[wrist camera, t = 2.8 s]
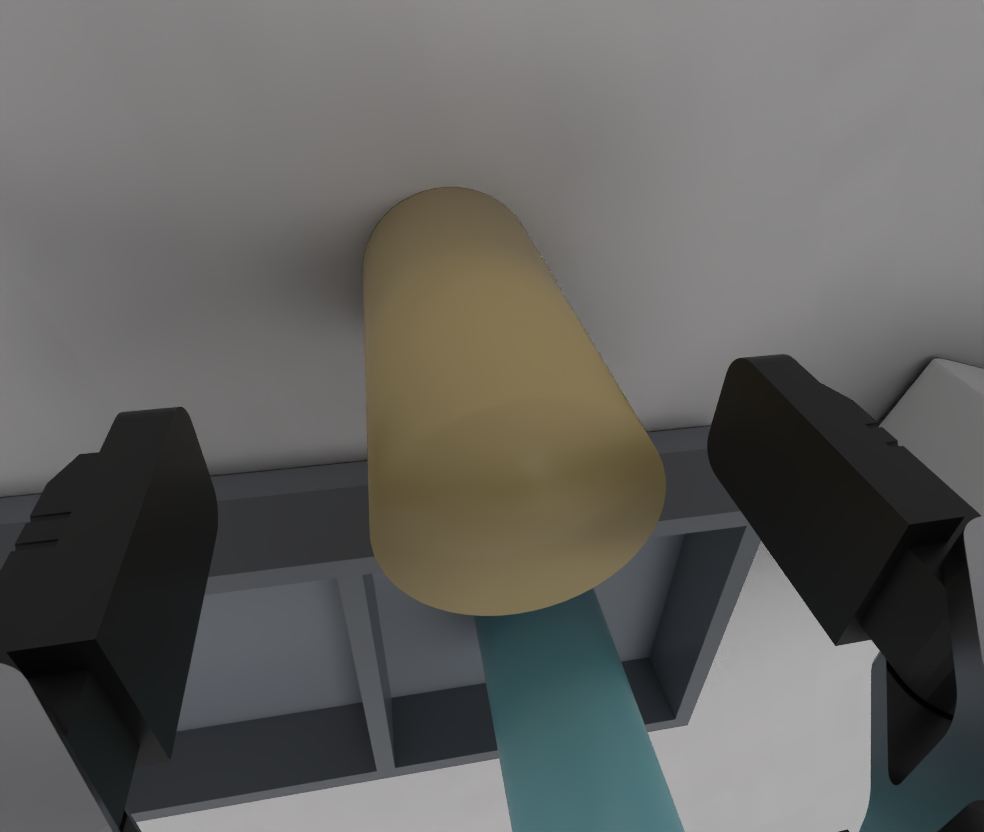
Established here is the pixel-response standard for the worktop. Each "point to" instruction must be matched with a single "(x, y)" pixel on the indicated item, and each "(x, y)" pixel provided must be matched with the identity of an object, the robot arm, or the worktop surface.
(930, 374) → the milk carton
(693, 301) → the worktop surface
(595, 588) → the grey divided tray
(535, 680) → the teal rounded cylinder
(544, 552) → the tan rounded cylinder
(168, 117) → the worktop surface
